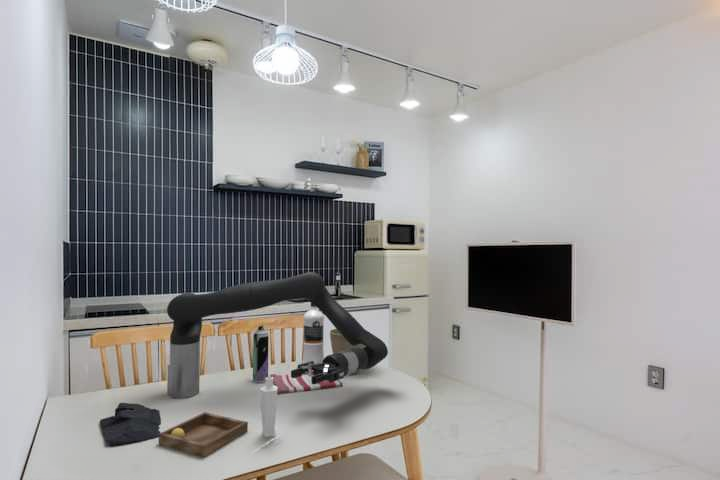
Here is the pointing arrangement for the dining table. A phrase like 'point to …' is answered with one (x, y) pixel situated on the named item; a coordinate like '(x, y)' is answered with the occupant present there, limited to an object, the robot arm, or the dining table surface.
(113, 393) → the dining table surface
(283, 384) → the dish towel
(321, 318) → the vodka
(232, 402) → the dining table surface
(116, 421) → the dark folded fabric bundle
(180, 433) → the ball
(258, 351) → the spray can
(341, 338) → the plant pot
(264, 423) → the white faceted vase
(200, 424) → the tray
